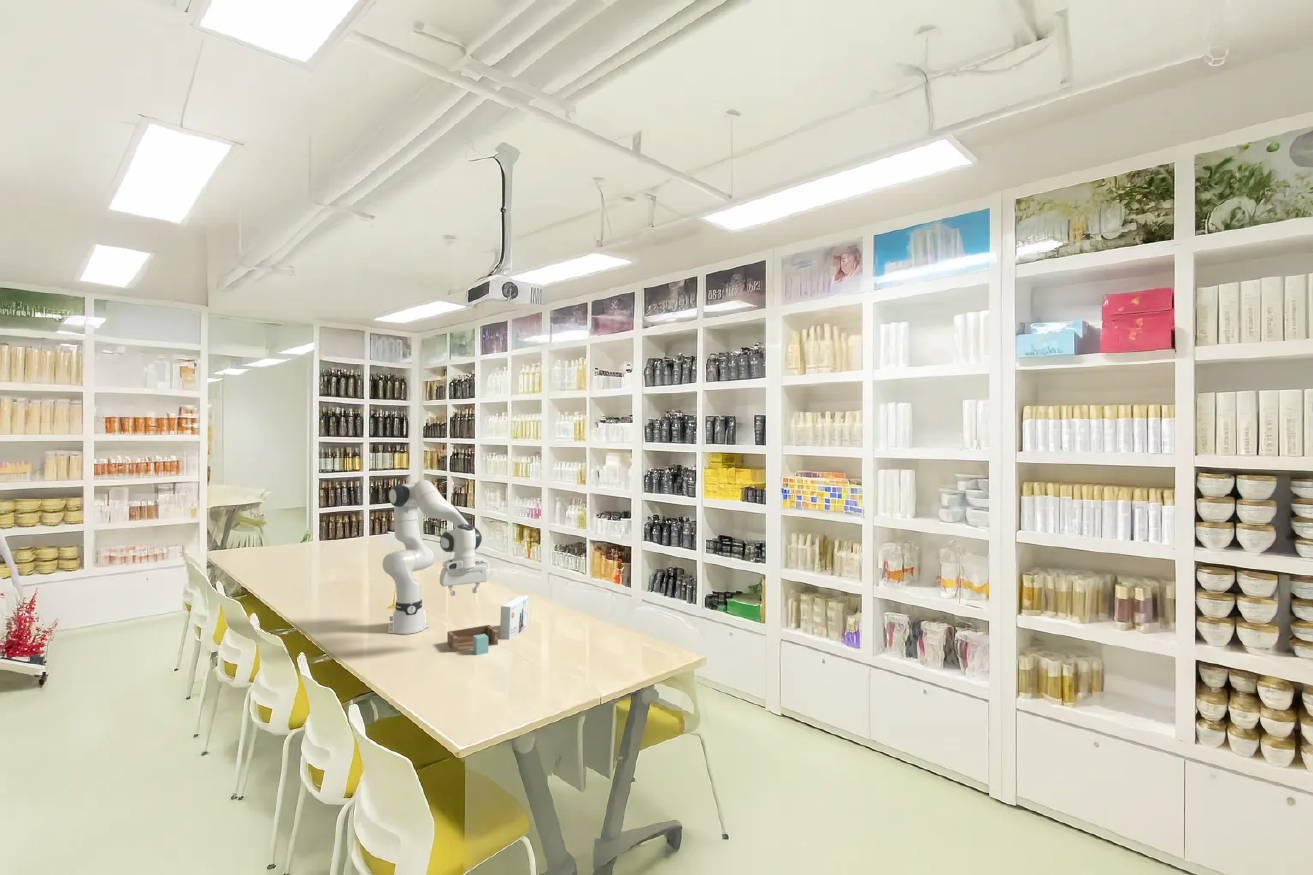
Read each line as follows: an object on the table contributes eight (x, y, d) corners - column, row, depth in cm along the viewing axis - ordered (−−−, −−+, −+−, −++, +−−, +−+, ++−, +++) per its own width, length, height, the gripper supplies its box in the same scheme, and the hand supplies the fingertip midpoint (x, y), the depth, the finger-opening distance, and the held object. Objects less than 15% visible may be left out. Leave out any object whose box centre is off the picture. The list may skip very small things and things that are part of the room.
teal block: (473, 651, 271) (473, 635, 271) (484, 649, 274) (484, 633, 274) (476, 655, 267) (476, 638, 267) (488, 653, 270) (488, 636, 270)
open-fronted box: (447, 646, 281) (447, 631, 281) (489, 638, 291) (489, 624, 291) (454, 653, 271) (454, 638, 271) (497, 646, 281) (497, 631, 281)
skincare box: (510, 641, 288) (510, 606, 288) (499, 640, 289) (499, 605, 289) (528, 627, 308) (528, 595, 308) (518, 627, 309) (518, 594, 310)
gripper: (485, 558, 282) (485, 589, 282) (439, 563, 271) (438, 594, 271) (490, 561, 276) (489, 592, 277) (442, 566, 265) (442, 598, 266)
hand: (463, 594), depth 274 cm, fingers open, 8 cm apart
